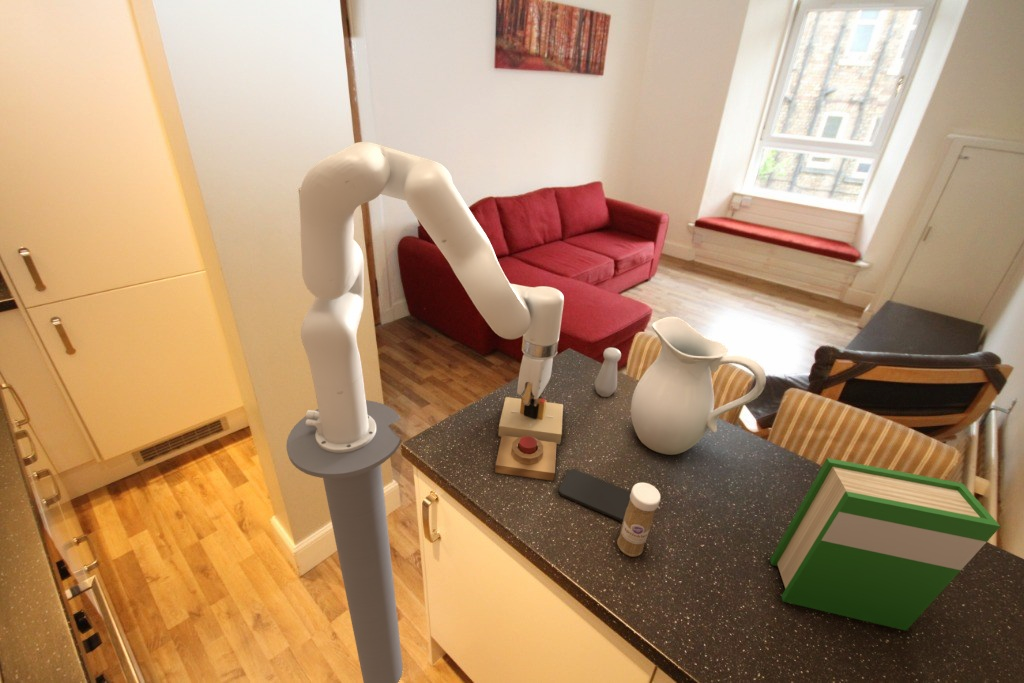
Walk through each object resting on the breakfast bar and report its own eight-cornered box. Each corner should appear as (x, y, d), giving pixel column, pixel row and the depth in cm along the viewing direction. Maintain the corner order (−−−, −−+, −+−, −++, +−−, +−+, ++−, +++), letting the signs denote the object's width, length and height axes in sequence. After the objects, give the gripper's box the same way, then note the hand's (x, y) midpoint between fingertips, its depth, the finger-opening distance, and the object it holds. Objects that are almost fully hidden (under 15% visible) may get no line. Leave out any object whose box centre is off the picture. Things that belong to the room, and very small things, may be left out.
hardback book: (783, 601, 71) (848, 496, 59) (770, 560, 77) (826, 457, 66) (906, 630, 68) (1000, 526, 56) (882, 585, 75) (962, 483, 63)
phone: (570, 467, 92) (642, 496, 87) (569, 470, 93) (641, 499, 87) (556, 491, 86) (633, 524, 81) (556, 494, 87) (632, 527, 81)
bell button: (518, 453, 91) (518, 446, 90) (519, 441, 94) (520, 434, 93) (535, 455, 91) (536, 449, 90) (536, 443, 94) (537, 437, 93)
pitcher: (610, 433, 104) (634, 328, 90) (650, 406, 114) (677, 308, 100) (705, 497, 89) (752, 382, 75) (742, 460, 99) (789, 353, 85)
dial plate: (498, 436, 100) (498, 425, 99) (504, 406, 110) (505, 396, 108) (560, 444, 99) (561, 433, 98) (561, 414, 109) (563, 403, 107)
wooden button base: (494, 472, 91) (495, 458, 89) (501, 442, 99) (502, 428, 97) (553, 481, 90) (555, 466, 88) (555, 450, 98) (557, 436, 96)
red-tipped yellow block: (519, 413, 103) (521, 396, 101) (522, 408, 105) (524, 392, 102) (542, 420, 102) (544, 403, 99) (544, 415, 103) (546, 399, 101)
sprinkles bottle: (619, 557, 76) (635, 502, 69) (614, 534, 80) (629, 480, 73) (646, 558, 76) (664, 504, 69) (639, 535, 80) (656, 481, 73)
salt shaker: (592, 396, 116) (600, 353, 110) (593, 384, 121) (601, 342, 115) (614, 400, 115) (624, 358, 109) (615, 388, 120) (624, 346, 114)
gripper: (536, 325, 102) (529, 391, 111) (509, 357, 89) (503, 428, 98) (567, 333, 99) (558, 399, 108) (544, 367, 86) (535, 439, 95)
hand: (532, 413), depth 103 cm, fingers closed on red-tipped yellow block, 2 cm apart
